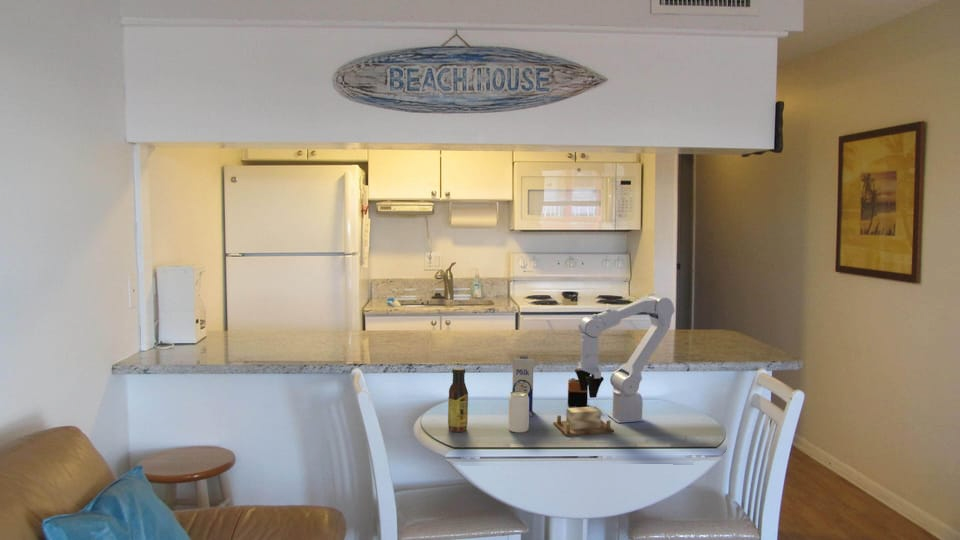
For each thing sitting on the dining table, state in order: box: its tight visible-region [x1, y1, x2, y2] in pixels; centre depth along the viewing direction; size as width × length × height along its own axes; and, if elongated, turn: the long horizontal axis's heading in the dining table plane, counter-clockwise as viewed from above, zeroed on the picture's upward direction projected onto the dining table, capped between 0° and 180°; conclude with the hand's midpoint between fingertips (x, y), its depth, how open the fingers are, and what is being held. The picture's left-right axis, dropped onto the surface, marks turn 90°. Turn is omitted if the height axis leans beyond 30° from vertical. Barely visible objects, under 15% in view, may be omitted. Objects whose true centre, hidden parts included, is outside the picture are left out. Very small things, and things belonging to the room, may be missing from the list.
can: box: [507, 391, 530, 434], centre depth 198 cm, size 6×6×12 cm
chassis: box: [552, 414, 615, 437], centre depth 200 cm, size 16×11×3 cm
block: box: [565, 405, 602, 429], centre depth 200 cm, size 10×4×6 cm, turn 104°
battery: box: [567, 377, 589, 408], centre depth 223 cm, size 4×7×10 cm, turn 84°
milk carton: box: [511, 355, 535, 418], centre depth 213 cm, size 7×7×20 cm
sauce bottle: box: [447, 366, 469, 433], centre depth 197 cm, size 6×6×20 cm
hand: (588, 393), depth 206 cm, fingers open, 7 cm apart
